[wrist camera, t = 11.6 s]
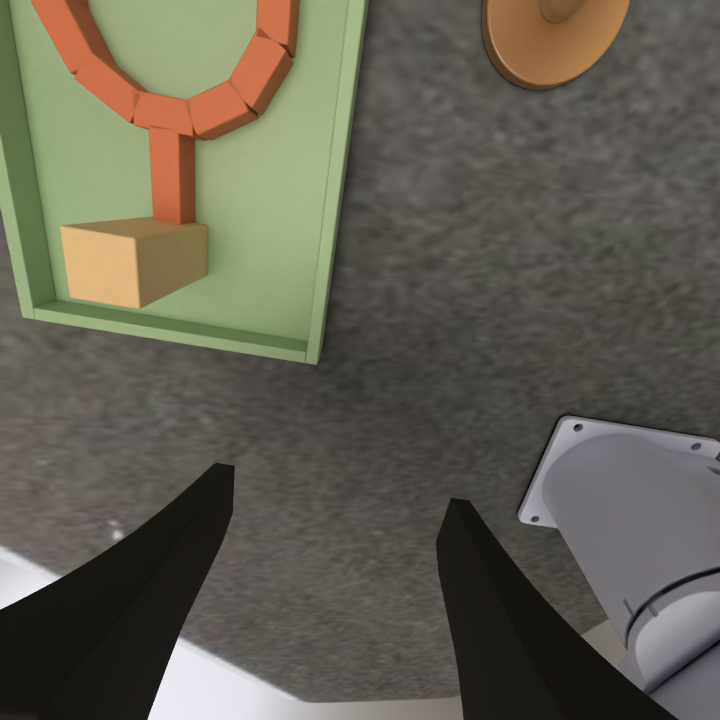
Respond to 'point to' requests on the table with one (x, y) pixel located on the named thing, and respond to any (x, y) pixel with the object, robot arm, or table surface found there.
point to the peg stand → (548, 37)
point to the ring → (161, 153)
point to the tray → (212, 169)
